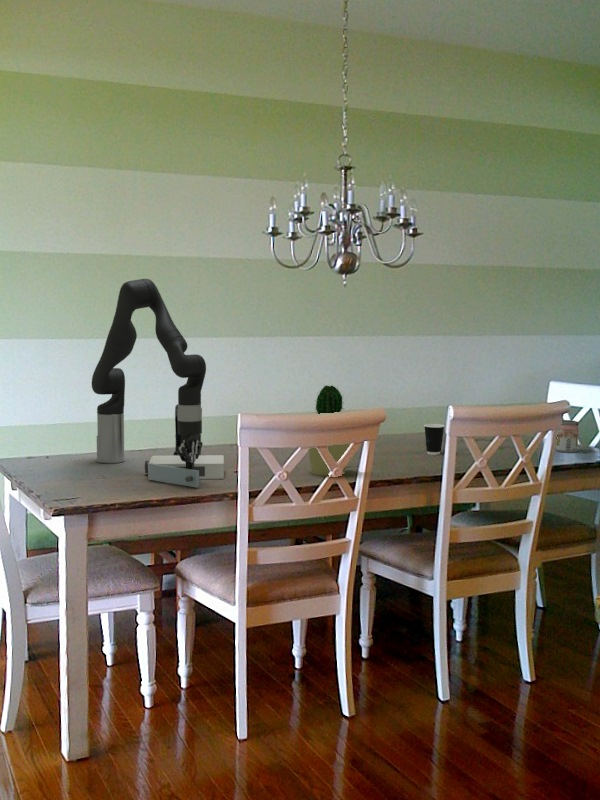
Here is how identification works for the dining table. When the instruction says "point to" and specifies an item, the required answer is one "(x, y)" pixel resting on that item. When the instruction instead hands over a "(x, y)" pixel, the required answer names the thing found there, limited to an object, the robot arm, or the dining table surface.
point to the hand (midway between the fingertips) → (190, 473)
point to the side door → (174, 475)
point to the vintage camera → (178, 437)
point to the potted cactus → (327, 403)
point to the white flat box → (205, 464)
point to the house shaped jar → (568, 437)
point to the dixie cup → (434, 438)
